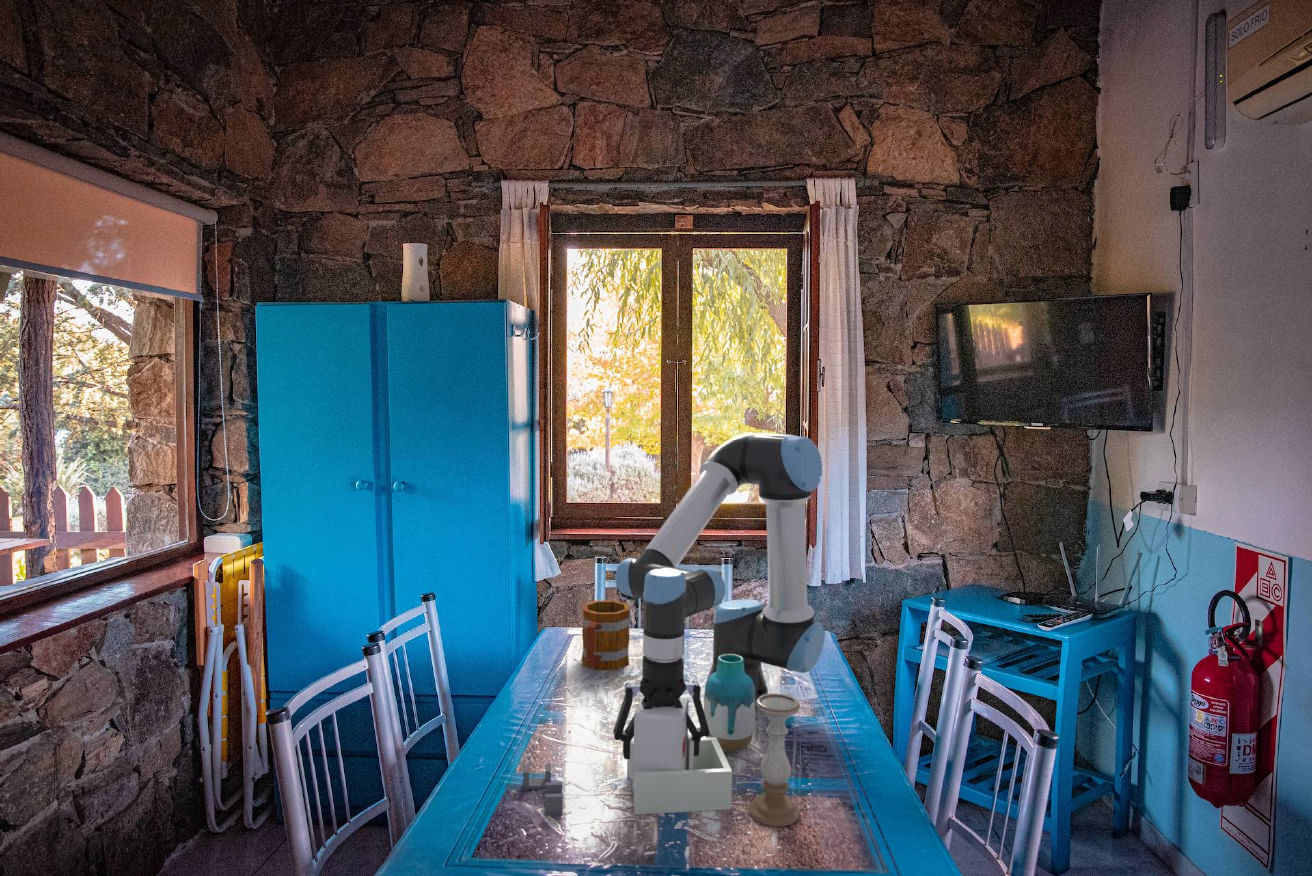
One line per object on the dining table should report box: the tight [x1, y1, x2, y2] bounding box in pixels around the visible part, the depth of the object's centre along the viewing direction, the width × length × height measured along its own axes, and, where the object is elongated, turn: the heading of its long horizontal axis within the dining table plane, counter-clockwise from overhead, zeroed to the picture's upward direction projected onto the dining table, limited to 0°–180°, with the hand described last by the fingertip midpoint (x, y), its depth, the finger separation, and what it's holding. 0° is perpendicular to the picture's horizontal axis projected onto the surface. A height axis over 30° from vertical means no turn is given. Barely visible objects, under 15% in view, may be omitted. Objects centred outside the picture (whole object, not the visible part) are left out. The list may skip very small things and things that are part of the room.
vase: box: [703, 654, 756, 754], centre depth 160 cm, size 11×11×19 cm
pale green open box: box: [626, 736, 733, 816], centre depth 143 cm, size 17×13×7 cm
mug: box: [581, 599, 631, 671], centre depth 205 cm, size 20×14×15 cm
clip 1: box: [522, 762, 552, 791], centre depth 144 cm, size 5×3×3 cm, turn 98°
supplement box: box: [632, 695, 689, 794], centre depth 142 cm, size 9×9×15 cm
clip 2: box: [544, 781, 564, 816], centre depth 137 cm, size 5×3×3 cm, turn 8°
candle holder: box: [748, 693, 801, 828], centre depth 136 cm, size 9×9×20 cm
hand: (660, 773), depth 142 cm, fingers closed on supplement box, 10 cm apart
